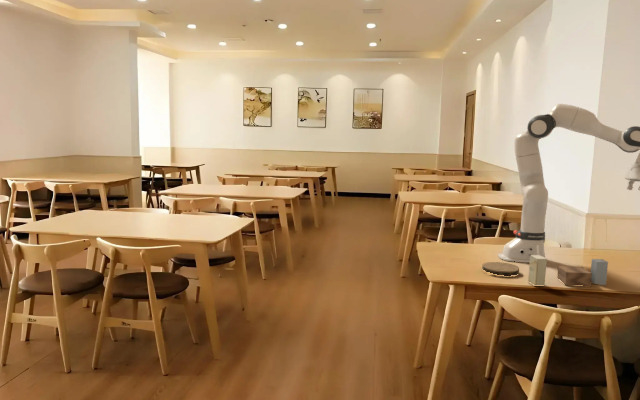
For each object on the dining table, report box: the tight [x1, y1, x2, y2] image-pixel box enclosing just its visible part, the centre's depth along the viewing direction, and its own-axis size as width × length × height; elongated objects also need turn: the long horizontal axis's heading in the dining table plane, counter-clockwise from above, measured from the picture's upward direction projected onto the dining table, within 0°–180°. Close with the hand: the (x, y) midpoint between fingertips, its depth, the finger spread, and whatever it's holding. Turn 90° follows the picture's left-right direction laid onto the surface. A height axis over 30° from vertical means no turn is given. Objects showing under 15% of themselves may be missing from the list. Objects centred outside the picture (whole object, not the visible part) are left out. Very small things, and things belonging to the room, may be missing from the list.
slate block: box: [590, 258, 609, 286], centre depth 212 cm, size 4×4×10 cm
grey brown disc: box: [481, 261, 520, 276], centre depth 229 cm, size 16×16×3 cm
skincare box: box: [527, 255, 548, 286], centre depth 209 cm, size 6×4×12 cm
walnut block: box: [556, 265, 592, 287], centre depth 213 cm, size 10×10×6 cm
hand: (634, 190), depth 224 cm, fingers open, 8 cm apart
